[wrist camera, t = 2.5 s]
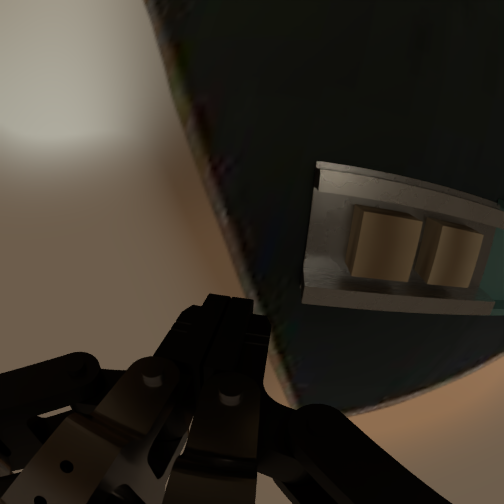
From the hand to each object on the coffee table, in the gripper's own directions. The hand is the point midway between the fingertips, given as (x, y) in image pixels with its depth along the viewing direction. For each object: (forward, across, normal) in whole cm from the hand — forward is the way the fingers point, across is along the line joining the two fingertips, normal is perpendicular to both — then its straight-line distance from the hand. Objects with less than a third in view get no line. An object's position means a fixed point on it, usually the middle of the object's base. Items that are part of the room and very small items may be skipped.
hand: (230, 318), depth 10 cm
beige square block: (+14, -10, 0) cm, 17 cm away
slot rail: (+15, -14, 0) cm, 20 cm away
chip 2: (+14, -16, 0) cm, 22 cm away
